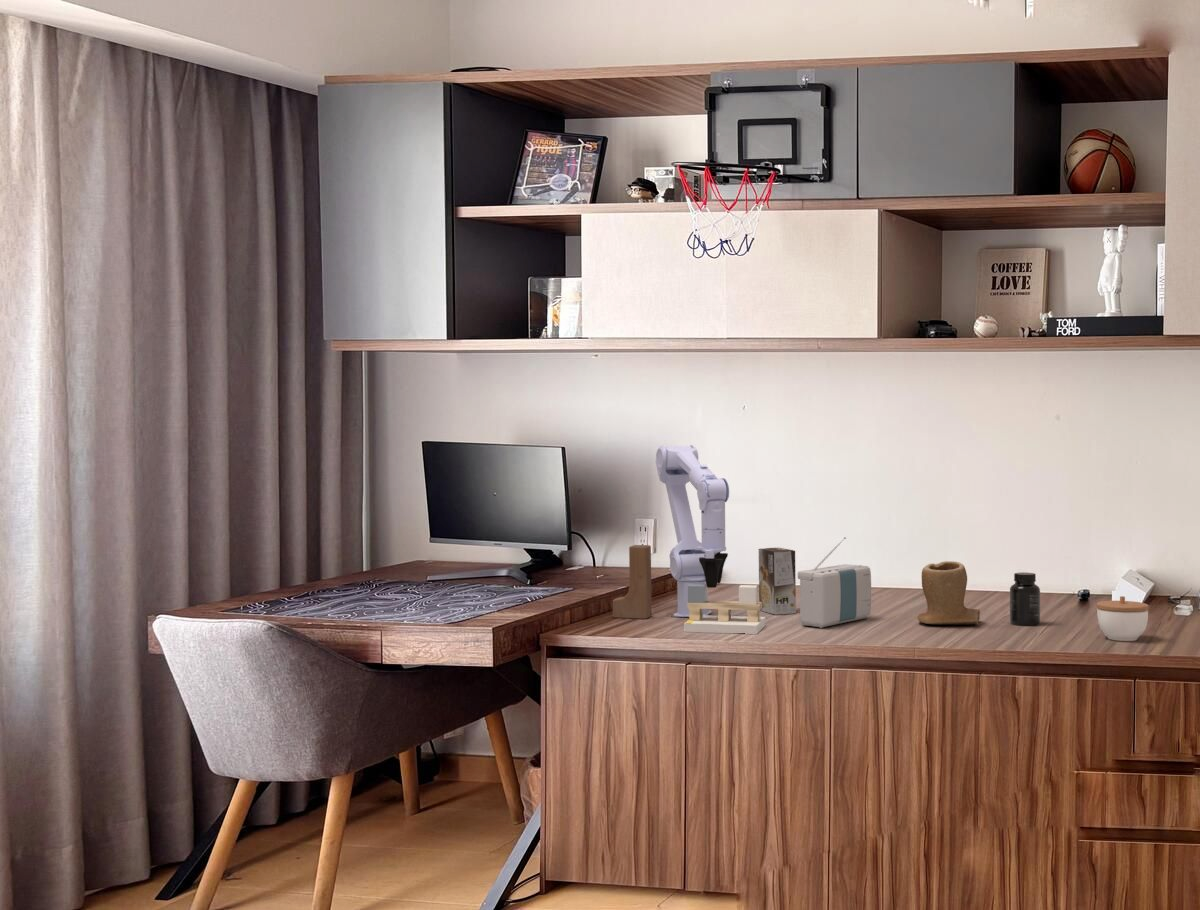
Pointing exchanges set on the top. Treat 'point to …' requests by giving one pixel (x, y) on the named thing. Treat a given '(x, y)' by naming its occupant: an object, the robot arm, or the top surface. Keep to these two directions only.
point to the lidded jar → (1122, 619)
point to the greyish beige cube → (748, 594)
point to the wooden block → (636, 586)
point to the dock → (724, 625)
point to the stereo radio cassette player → (834, 594)
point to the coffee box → (777, 581)
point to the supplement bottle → (1025, 600)
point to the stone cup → (946, 595)
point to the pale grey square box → (697, 593)
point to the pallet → (724, 610)
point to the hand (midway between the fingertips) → (713, 585)
